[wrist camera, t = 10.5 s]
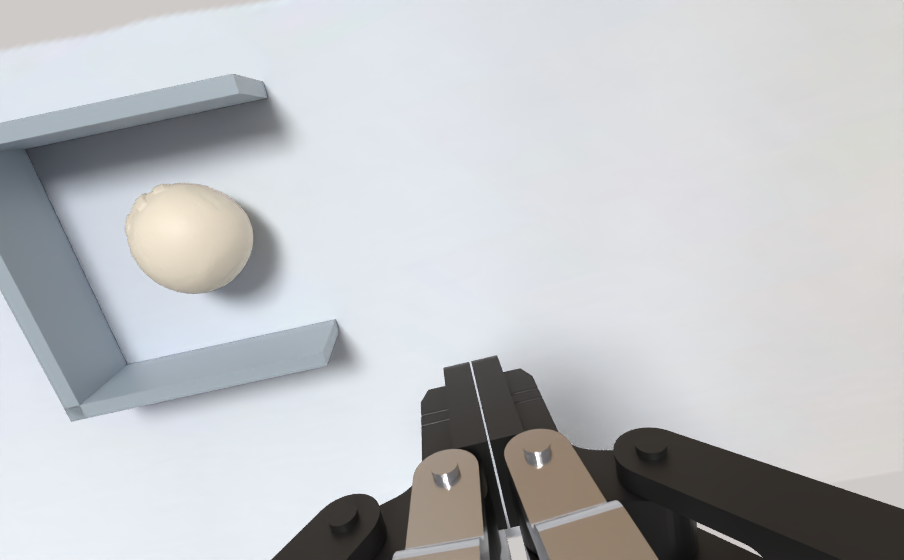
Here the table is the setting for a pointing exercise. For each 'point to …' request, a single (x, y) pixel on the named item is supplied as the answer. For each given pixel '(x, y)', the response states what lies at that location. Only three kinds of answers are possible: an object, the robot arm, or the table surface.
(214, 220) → the cream rounded lump
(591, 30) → the table surface
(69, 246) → the grey u-shaped frame
